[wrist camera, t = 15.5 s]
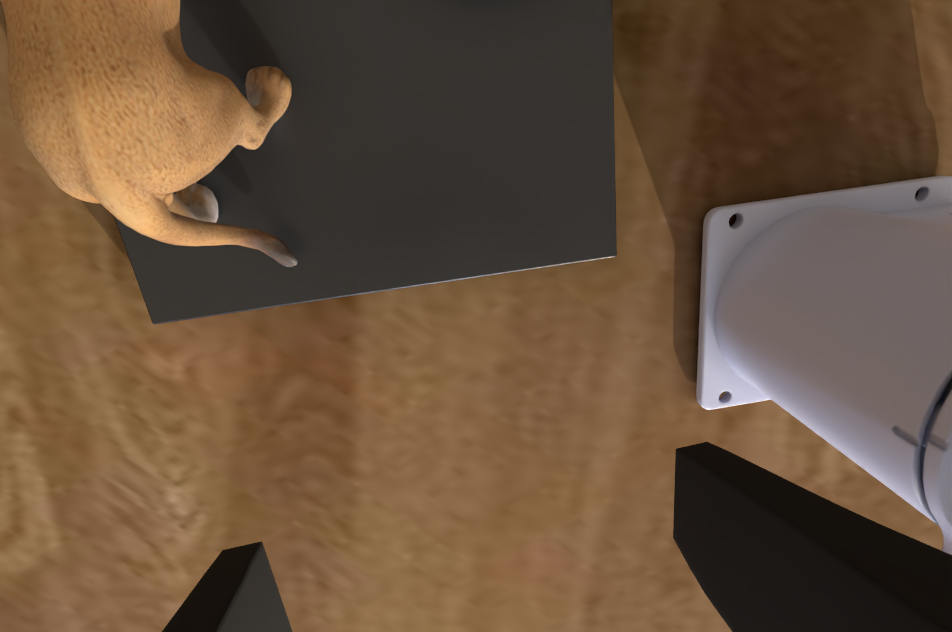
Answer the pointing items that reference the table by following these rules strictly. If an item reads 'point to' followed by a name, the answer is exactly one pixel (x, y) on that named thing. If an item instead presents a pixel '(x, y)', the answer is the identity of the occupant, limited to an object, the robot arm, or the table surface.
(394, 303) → the table surface
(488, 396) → the table surface
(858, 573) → the robot arm
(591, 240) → the scale
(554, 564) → the table surface
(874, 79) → the table surface
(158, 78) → the lion figurine
